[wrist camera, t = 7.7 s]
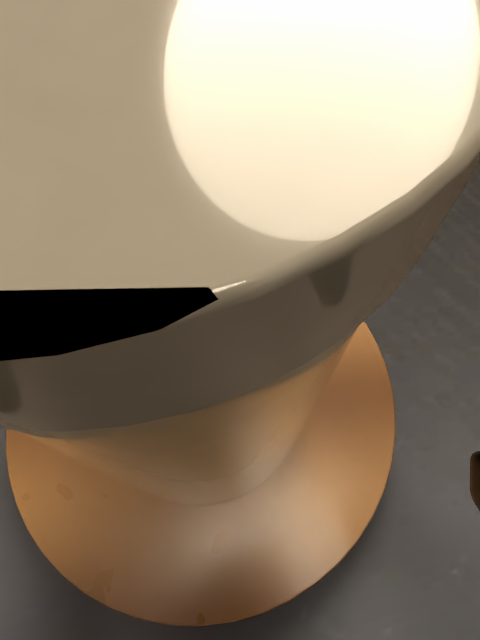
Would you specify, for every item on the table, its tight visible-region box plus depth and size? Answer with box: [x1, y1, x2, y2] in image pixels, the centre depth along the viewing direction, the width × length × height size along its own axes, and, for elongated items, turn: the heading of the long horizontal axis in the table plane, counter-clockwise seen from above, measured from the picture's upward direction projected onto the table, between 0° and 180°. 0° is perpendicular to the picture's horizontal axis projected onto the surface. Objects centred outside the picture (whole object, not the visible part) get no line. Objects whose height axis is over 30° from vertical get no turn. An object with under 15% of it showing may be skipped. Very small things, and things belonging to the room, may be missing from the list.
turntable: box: [6, 322, 395, 626], centre depth 15 cm, size 13×13×1 cm
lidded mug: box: [0, 0, 480, 506], centre depth 10 cm, size 10×7×12 cm
